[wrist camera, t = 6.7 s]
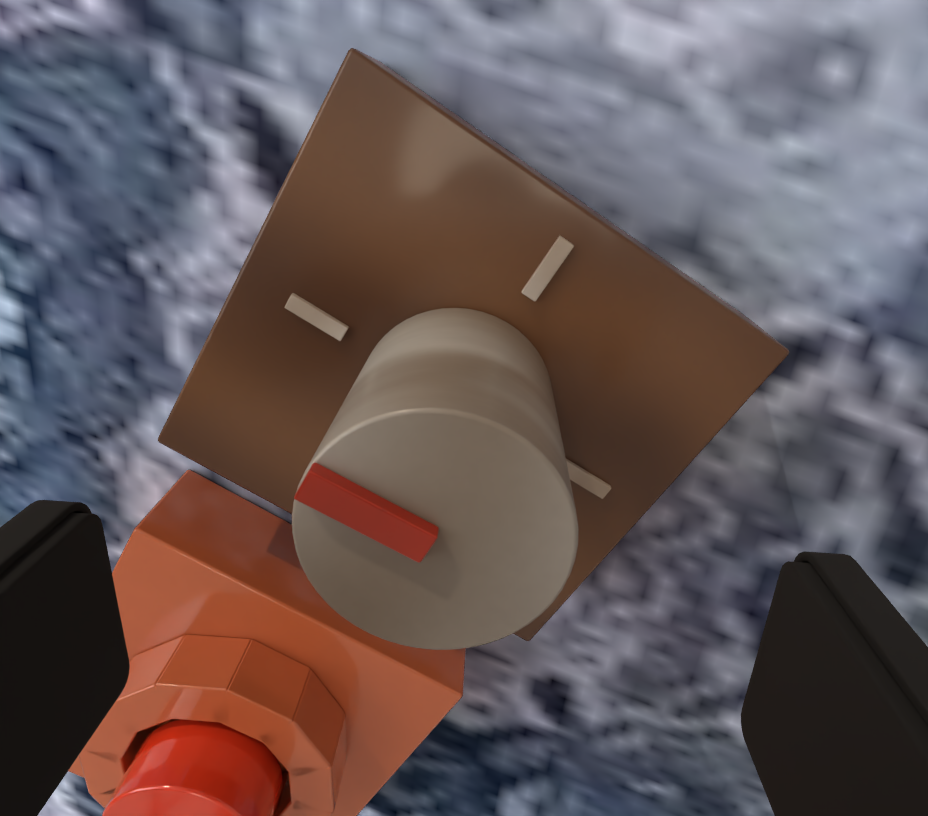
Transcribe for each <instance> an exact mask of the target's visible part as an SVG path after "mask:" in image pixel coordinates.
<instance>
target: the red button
mask: <svg viewBox="0 0 928 816" xmlns="http://www.w3.org/2000/svg"><path fill="white" fill-rule="evenodd" d="M282 786H283V775H282V769H281V766H280V764H279V761H278V759H277V758H276V757H275V756H274V755H273V754H272V752H271V751H270V750H269V749H268V748H267V747H266V746H265V744H264V743H262V742H260V741H258V740H256V739H254V738H252V737H250V736H247V735H245V734H243V733H241V732H239V731H237V730H235V729H232V728H230V727H228V726H226V725H224V724H222V723H220V722H206V721H193V720H179V719H178V720H174V721H171V722H168V723H166V724H164V725H161V726H160V727H158V728H157V729H155V730H154V731H153V732H151V733H150V734H149V735H148V736H147V737H146V739H145V740H144V741H143V743H142V745H141V747H140V748H139V750H138V752H137V754H136V755H135V757H134V759H133V761H132V762H131V764H130V766H129V767H128V769H127V771H126V773H125V774H124V776H123V778H122V780H121V781H120V783H119V785H118V787H117V788H116V790H115V792H114V793H113V795H112V797H111V799H110V800H109V802H108V804H107V806H106V807H105V809H104V812H103V814H102V816H273V815H274V812H275V809H276V806H277V803H278V800H279V797H280V793H281V790H282Z"/></svg>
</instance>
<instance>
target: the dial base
mask: <svg viewBox="0 0 928 816" xmlns="http://www.w3.org/2000/svg"><path fill="white" fill-rule="evenodd" d="M442 308H465V309H472V310H477V311H481V312H485V313H487V314H490V315H493V316H496V317H498V318H499V319H501V320H503V321H505V322H507V323H509V324H510V325H512V326H513V327H514V328H516V329H517V330H519V331H520V332H521V333H522V334H523V335H524V336H525V337H526V338H527V339H528V340H529V341H530V342H531V343H532V345H533V346H534V347H535V348H536V350H537V351H538V353H539V354H540V356H541V358H542V359H543V362H544V364H545V366H546V368H547V371H548V374H549V377H550V381H551V386H552V391H553V396H554V401H555V406H556V411H557V416H558V421H559V426H560V432H561V437H562V442H563V447H564V452H565V457H566V462H567V467H568V472H569V477H570V482H571V488H572V493H573V498H574V503H575V508H576V514H577V521H578V547H577V553H576V559H575V562H574V565H573V568H572V571H571V573H570V576H569V578H568V579H567V581H566V583H565V585H564V587H563V589H562V590H561V592H560V593H559V595H558V596H557V597H556V599H555V600H554V602H553V603H552V604H551V605H550V606H549V607H548V608H547V609H546V610H545V611H544V612H543V613H542V614H541V615H540V616H539V617H537V618H536V619H535V620H534V621H532V622H531V623H530V624H528V625H527V626H525V627H523V628H522V629H520V630H518V631H517V632H515V633H513V634H515V635H517V636H519V637H521V638H522V639H524V640H526V641H530V640H531V639H532V638H533V636H534V635H535V634H536V633H537V632H538V631H539V630H540V629H541V628H542V626H543V625H544V624H545V623H546V622H547V621H548V620H549V619H550V618H551V617H552V615H553V614H554V613H555V612H556V611H557V610H558V609H559V608H560V607H561V605H562V604H563V603H564V602H565V601H566V600H567V599H568V598H569V597H570V596H571V594H572V593H573V592H574V591H575V590H576V589H577V588H578V587H579V586H580V584H581V583H582V582H583V581H584V580H585V579H586V578H587V577H588V576H589V574H590V573H591V572H592V571H593V570H594V569H595V568H596V567H597V566H598V565H599V563H600V562H601V561H602V560H603V559H604V558H605V557H606V556H607V555H608V553H609V552H610V551H611V550H612V549H613V548H614V547H615V546H616V545H617V543H618V542H619V541H620V540H621V539H622V538H623V537H624V536H625V535H626V534H627V532H628V531H629V530H630V529H631V528H632V527H633V526H634V525H635V524H636V522H637V521H638V520H639V519H640V518H641V517H642V516H643V515H644V514H645V512H646V511H647V510H648V509H649V508H650V507H651V506H652V505H653V504H654V503H655V501H656V500H657V499H658V498H659V497H660V496H661V495H662V494H663V493H664V491H665V490H666V489H667V488H668V487H669V486H670V485H671V484H672V483H673V482H674V480H675V479H676V478H677V477H678V476H679V475H680V474H681V473H682V472H683V470H684V469H685V468H686V467H687V466H688V465H689V464H690V463H691V462H692V460H693V459H694V458H695V457H696V456H697V455H698V454H699V453H700V452H701V451H702V449H703V448H704V447H705V446H706V445H707V444H708V443H709V442H710V441H711V439H712V438H713V437H714V436H715V435H716V434H717V433H718V432H719V431H720V429H721V428H722V427H723V426H724V425H725V424H726V423H727V422H728V421H729V420H730V418H731V417H732V416H733V415H734V414H735V413H736V412H737V411H738V410H739V408H740V407H741V406H742V405H743V404H744V403H745V402H746V401H747V400H748V399H749V397H750V396H751V395H752V394H753V393H754V392H755V391H756V390H757V389H758V387H759V386H760V385H761V384H762V383H763V382H764V381H765V380H766V379H767V377H768V376H769V375H770V374H771V373H772V372H773V371H774V370H775V369H776V368H777V366H778V365H779V364H780V363H781V362H782V361H783V360H784V359H785V358H786V356H787V355H788V354H789V351H788V349H787V348H785V347H784V346H783V345H782V344H780V343H779V342H778V341H777V340H775V339H774V338H773V337H771V336H770V335H769V334H768V333H766V332H765V331H764V330H763V329H761V328H760V327H759V326H758V325H756V324H755V323H754V322H752V321H751V320H750V319H749V318H747V317H746V316H745V315H744V314H742V313H741V312H739V311H738V310H736V309H735V308H734V307H732V306H731V305H729V304H728V303H726V302H725V301H723V300H722V299H721V298H719V297H718V296H716V295H715V294H713V293H712V292H711V291H709V290H708V289H706V288H705V287H703V286H702V285H700V284H699V283H698V282H696V281H695V280H693V279H692V278H690V277H689V276H688V275H686V274H685V273H683V272H682V271H680V270H679V269H677V268H676V267H675V266H673V265H672V264H670V263H669V262H667V261H666V260H665V259H663V258H662V257H660V256H659V255H657V254H656V253H654V252H653V251H652V250H650V249H649V248H647V247H646V246H644V245H643V244H642V243H640V242H639V241H637V240H636V239H634V238H633V237H631V236H630V235H629V234H627V233H626V232H624V231H623V230H621V229H620V228H619V227H617V226H616V225H614V224H613V223H611V222H610V221H608V220H607V219H606V218H604V217H603V216H601V215H600V214H598V213H597V212H596V211H594V210H593V209H591V208H590V207H588V206H587V205H585V204H584V203H583V202H581V201H580V200H578V199H577V198H575V197H574V196H573V195H571V194H570V193H568V192H567V191H565V190H564V189H562V188H561V187H560V186H558V185H557V184H555V183H554V182H552V181H551V180H550V179H548V178H547V177H545V176H544V175H542V174H541V173H539V172H538V171H537V170H535V169H534V168H532V167H531V166H529V165H528V164H527V163H525V162H524V161H522V160H521V159H519V158H518V157H516V156H515V155H514V154H512V153H511V152H509V151H508V150H506V149H505V148H504V147H502V146H501V145H499V144H498V143H496V142H495V141H493V140H492V139H491V138H489V137H488V136H486V135H485V134H483V133H482V132H481V131H479V130H478V129H476V128H475V127H473V126H472V125H470V124H469V123H468V122H466V121H465V120H463V119H462V118H460V117H459V116H458V115H456V114H455V113H453V112H452V111H450V110H449V109H447V108H446V107H445V106H443V105H442V104H440V103H439V102H437V101H436V100H435V99H433V98H432V97H430V96H429V95H427V94H426V93H424V92H423V91H422V90H420V89H419V88H417V87H416V86H414V85H413V84H412V83H410V82H409V81H407V80H406V79H404V78H403V77H401V76H400V75H399V74H397V73H396V72H394V71H393V70H391V69H390V68H389V67H387V66H386V65H384V64H383V63H381V62H380V61H378V60H376V59H374V58H372V57H370V56H368V55H366V54H364V53H362V52H360V51H358V50H356V49H354V48H351V49H350V50H349V51H348V53H347V55H346V57H345V59H344V61H343V63H342V65H341V67H340V69H339V71H338V73H337V75H336V77H335V79H334V81H333V83H332V85H331V87H330V89H329V91H328V93H327V95H326V97H325V100H324V102H323V104H322V106H321V108H320V110H319V112H318V114H317V116H316V118H315V120H314V122H313V124H312V126H311V128H310V130H309V132H308V134H307V136H306V138H305V140H304V142H303V144H302V146H301V148H300V150H299V152H298V154H297V157H296V159H295V161H294V163H293V165H292V167H291V169H290V171H289V173H288V175H287V177H286V179H285V181H284V183H283V185H282V187H281V189H280V191H279V193H278V195H277V197H276V199H275V201H274V203H273V205H272V207H271V209H270V211H269V214H268V216H267V218H266V220H265V222H264V224H263V226H262V228H261V230H260V232H259V234H258V236H257V238H256V240H255V242H254V244H253V246H252V248H251V250H250V252H249V254H248V256H247V258H246V260H245V262H244V264H243V266H242V268H241V270H240V273H239V275H238V277H237V279H236V281H235V283H234V285H233V287H232V289H231V291H230V293H229V295H228V297H227V299H226V301H225V303H224V305H223V307H222V309H221V311H220V313H219V315H218V317H217V319H216V321H215V323H214V325H213V327H212V330H211V332H210V334H209V336H208V338H207V340H206V342H205V344H204V346H203V348H202V350H201V352H200V354H199V356H198V358H197V360H196V362H195V364H194V366H193V368H192V370H191V372H190V374H189V376H188V378H187V380H186V382H185V384H184V387H183V389H182V391H181V393H180V395H179V397H178V399H177V401H176V403H175V405H174V407H173V409H172V411H171V413H170V415H169V417H168V419H167V421H166V423H165V425H164V427H163V429H162V431H161V433H160V435H159V437H158V441H159V442H160V443H161V444H163V445H165V446H167V447H169V448H171V449H173V450H174V451H176V452H178V453H180V454H182V455H184V456H186V457H187V458H189V459H191V460H193V461H195V462H197V463H198V464H200V465H202V466H204V467H206V468H208V469H210V470H211V471H213V472H215V473H217V474H219V475H221V476H223V477H224V478H226V479H228V480H230V481H232V482H234V483H235V484H237V485H239V486H241V487H243V488H245V489H247V490H248V491H250V492H252V493H254V494H256V495H258V496H260V497H261V498H263V499H265V500H267V501H269V502H271V503H273V504H274V505H276V506H278V507H280V508H282V509H284V510H285V511H287V512H289V513H291V514H292V511H293V503H294V496H295V494H296V491H297V488H298V485H299V483H300V481H301V479H302V476H303V474H304V472H305V470H306V468H307V467H308V465H309V463H310V461H311V459H312V458H313V456H314V454H315V452H316V450H317V449H318V447H319V445H320V443H321V442H322V440H323V438H324V436H325V434H326V433H327V431H328V429H329V427H330V425H331V424H332V422H333V420H334V418H335V416H336V415H337V413H338V411H339V409H340V408H341V406H342V404H343V402H344V400H345V399H346V397H347V395H348V393H349V391H350V390H351V388H352V386H353V384H354V383H355V381H356V379H357V377H358V375H359V374H360V372H361V370H362V368H363V366H364V365H365V363H366V361H367V359H368V358H369V356H370V354H371V352H372V351H373V349H374V348H375V346H376V345H377V344H378V342H379V341H380V340H381V339H382V338H383V337H384V336H385V335H386V334H387V333H388V332H389V331H390V330H391V329H393V328H394V327H395V326H397V325H398V324H400V323H401V322H403V321H404V320H406V319H408V318H411V317H413V316H415V315H417V314H420V313H423V312H427V311H430V310H436V309H442Z"/></svg>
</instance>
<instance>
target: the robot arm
mask: <svg viewBox="0 0 928 816" xmlns="http://www.w3.org/2000/svg"><path fill="white" fill-rule="evenodd" d="M129 670H130V664H129V657H128V652H127V647H126V642H125V637H124V632H123V627H122V622H121V617H120V612H119V607H118V602H117V597H116V592H115V587H114V582H113V576H112V571H111V566H110V561H109V556H108V551H107V546H106V541H105V536H104V531H103V526H102V523H101V520H100V518H99V517H98V516H97V515H95V514H91V511H90V509H89V508H88V507H87V505H85V504H83V503H80V502H65V501H50V500H39V501H36V502H34V503H32V504H30V505H29V506H28V507H26V508H25V509H24V510H22V511H21V512H20V513H19V514H17V515H16V516H15V517H13V518H12V519H11V520H10V521H8V522H7V523H6V524H4V525H3V526H2V527H1V528H0V816H37V815H38V814H39V812H40V811H41V809H42V808H43V807H44V805H45V804H46V802H47V801H48V799H49V798H50V796H51V795H52V793H53V792H54V790H55V789H56V788H57V786H58V785H59V783H60V782H61V780H62V779H63V777H64V776H65V774H66V773H67V772H68V770H69V769H70V767H71V766H72V764H73V763H74V761H75V760H76V758H77V757H78V756H79V754H80V753H81V751H82V750H83V748H84V747H85V745H86V744H87V742H88V741H89V739H90V738H91V737H92V735H93V734H94V732H95V731H96V729H97V728H98V726H99V725H100V723H101V722H102V721H103V719H104V718H105V716H106V715H107V713H108V712H109V710H110V709H111V707H112V706H113V704H114V703H115V702H116V700H117V699H118V697H119V696H120V694H121V693H122V691H123V689H124V688H125V685H126V683H127V680H128V676H129ZM741 726H742V732H743V736H744V740H745V742H746V745H747V747H748V750H749V752H750V755H751V757H752V760H753V762H754V765H755V767H756V770H757V772H758V775H759V777H760V780H761V782H762V785H763V787H764V790H765V792H766V795H767V797H768V800H769V802H770V805H771V807H772V810H773V812H774V815H775V816H928V647H927V646H926V645H925V643H924V642H923V641H922V640H921V639H920V637H919V636H918V635H917V634H916V633H915V631H914V630H913V629H912V628H911V627H910V625H909V624H908V623H907V622H906V621H905V619H904V618H903V617H902V616H901V615H900V613H899V612H898V611H897V610H896V609H895V607H894V606H893V605H892V604H891V603H890V601H889V600H888V599H887V598H886V597H885V595H884V594H883V593H882V592H881V591H880V589H879V588H878V587H877V586H876V585H875V583H874V582H873V581H872V580H871V579H870V577H869V576H868V575H867V574H866V573H865V571H864V570H863V569H862V568H861V567H860V565H859V564H858V563H857V562H856V561H855V560H854V559H853V558H852V557H851V556H849V555H845V554H831V553H817V552H802V553H799V554H798V556H797V557H796V558H795V560H794V562H786V563H785V564H784V565H783V566H782V568H781V571H780V574H779V578H778V581H777V585H776V589H775V592H774V596H773V599H772V603H771V606H770V610H769V614H768V617H767V621H766V624H765V628H764V632H763V635H762V639H761V642H760V646H759V650H758V653H757V657H756V660H755V664H754V668H753V671H752V675H751V678H750V682H749V685H748V689H747V693H746V696H745V700H744V703H743V707H742V712H741Z"/></svg>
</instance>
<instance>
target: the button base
mask: <svg viewBox="0 0 928 816" xmlns="http://www.w3.org/2000/svg"><path fill="white" fill-rule="evenodd" d="M112 576H113V582H114V587H115V592H116V597H117V602H118V607H119V612H120V617H121V622H122V627H123V632H124V637H125V642H126V647H127V652H128V657H129V664H130V670H129V676H128V680H127V683H126V685H125V688H124V689H123V691H122V693H121V694H120V696H119V697H118V699H117V700H116V702H115V703H114V704H113V706H112V707H111V709H110V710H109V712H108V713H107V715H106V716H105V718H104V719H103V721H102V722H101V723H100V725H99V726H98V728H97V729H96V731H95V732H94V734H93V735H92V737H91V738H90V739H89V741H88V742H87V744H86V745H85V747H84V748H83V750H82V751H81V753H80V754H79V756H78V757H77V758H76V760H75V761H74V763H73V764H72V766H71V767H70V769H69V770H68V771H69V772H72V773H74V774H76V775H79V776H81V777H83V778H85V781H86V784H87V788H88V791H89V793H90V794H91V796H92V797H93V798H94V799H95V800H96V801H97V802H98V803H99V804H100V805H101V806H103V807H104V808H105V807H106V806H107V804H108V802H109V800H110V799H111V797H112V795H113V793H114V792H115V790H116V788H117V787H118V785H119V783H120V781H121V780H122V778H123V776H124V774H125V773H126V771H127V769H128V767H129V766H130V764H131V762H132V761H133V759H134V757H135V755H136V754H137V752H138V750H139V748H140V747H141V745H142V743H143V741H144V740H145V739H146V737H147V736H148V735H149V734H150V733H151V732H153V731H154V730H155V729H157V728H158V727H160V726H161V725H164V724H166V723H168V722H171V721H174V720H178V719H179V720H193V721H206V722H220V723H222V724H224V725H226V726H228V727H230V728H232V729H235V730H237V731H239V732H241V733H243V734H245V735H247V736H250V737H252V738H254V739H256V740H258V741H260V742H262V743H264V744H265V746H266V747H267V748H268V749H269V750H270V751H271V752H272V754H273V755H274V756H275V757H276V758H277V759H278V761H279V764H280V766H281V769H282V775H283V786H282V790H281V793H280V797H279V800H278V803H277V806H276V809H275V812H274V815H273V816H357V815H358V813H359V812H360V811H361V810H362V809H363V808H364V807H365V806H366V804H367V803H368V802H369V801H370V800H371V799H372V798H373V797H374V795H375V794H376V793H377V792H378V791H379V790H380V789H381V788H382V786H383V785H384V784H385V783H386V782H387V781H388V780H389V779H390V777H391V776H392V775H393V774H394V773H395V772H396V771H397V770H398V768H399V767H400V766H401V765H402V764H403V763H404V762H405V761H406V759H407V758H408V757H409V756H410V755H411V754H412V753H413V752H414V750H415V749H416V748H417V747H418V746H419V745H420V744H421V743H422V741H423V740H424V739H425V738H426V737H427V736H428V735H429V734H430V732H431V731H432V730H433V729H434V728H435V727H436V726H437V725H438V723H439V722H440V721H441V720H442V719H443V718H444V717H445V716H446V714H447V713H448V712H449V711H450V710H451V709H452V708H453V707H454V705H455V704H456V703H457V702H458V701H459V700H460V699H461V697H462V696H463V683H464V668H465V652H466V648H462V649H453V650H432V649H422V648H415V647H410V646H405V645H400V644H397V643H393V642H390V641H387V640H384V639H381V638H379V637H377V636H374V635H372V634H370V633H368V632H366V631H364V630H362V629H360V628H359V627H357V626H355V625H353V624H352V623H350V622H349V621H348V620H346V619H345V618H343V617H342V616H340V615H339V614H338V613H337V612H336V611H335V610H334V609H333V608H331V607H330V606H329V605H328V604H327V603H326V602H325V601H324V599H323V598H322V597H321V596H320V595H319V594H318V593H317V591H316V590H315V589H314V587H313V586H312V584H311V583H310V581H309V580H308V578H307V576H306V574H305V572H304V570H303V568H302V566H301V564H300V561H299V558H298V555H297V552H296V549H295V544H294V539H293V533H292V524H290V523H288V522H286V521H285V520H283V519H281V518H279V517H277V516H275V515H273V514H271V513H270V512H268V511H266V510H264V509H262V508H260V507H258V506H257V505H255V504H253V503H251V502H249V501H247V500H245V499H244V498H242V497H240V496H238V495H236V494H234V493H232V492H231V491H229V490H227V489H225V488H223V487H221V486H219V485H217V484H216V483H214V482H212V481H210V480H208V479H206V478H204V477H203V476H201V475H199V474H197V473H195V472H193V471H191V470H187V471H186V472H185V473H184V474H183V475H182V476H181V477H180V479H179V480H178V481H177V482H176V483H175V484H174V485H173V486H172V487H171V489H170V490H169V491H168V492H167V493H166V494H165V495H164V496H163V497H162V499H161V500H160V501H159V502H158V503H157V504H156V505H155V506H154V507H153V508H152V510H151V511H150V512H149V513H148V514H147V515H146V516H145V517H144V518H143V520H142V521H141V522H140V523H139V524H138V525H137V526H136V527H135V529H134V530H133V532H132V534H131V536H130V538H129V540H128V542H127V544H126V546H125V548H124V550H123V552H122V554H121V556H120V558H119V560H118V562H117V564H116V566H115V568H114V570H113V572H112Z"/></svg>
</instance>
